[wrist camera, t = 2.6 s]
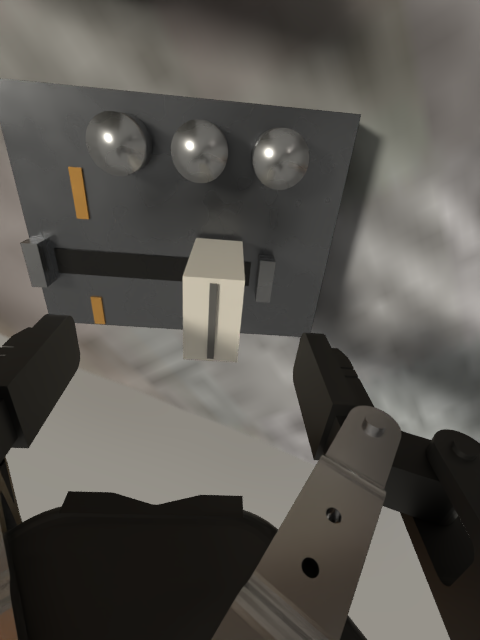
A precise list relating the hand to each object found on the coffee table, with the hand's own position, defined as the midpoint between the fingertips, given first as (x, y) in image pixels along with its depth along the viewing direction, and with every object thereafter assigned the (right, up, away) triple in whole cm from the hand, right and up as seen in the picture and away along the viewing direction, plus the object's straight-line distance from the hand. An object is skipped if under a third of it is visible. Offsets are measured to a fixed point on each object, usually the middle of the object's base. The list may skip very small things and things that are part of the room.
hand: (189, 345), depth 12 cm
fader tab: (+1, +3, +6) cm, 7 cm away
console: (-1, +6, +7) cm, 10 cm away
